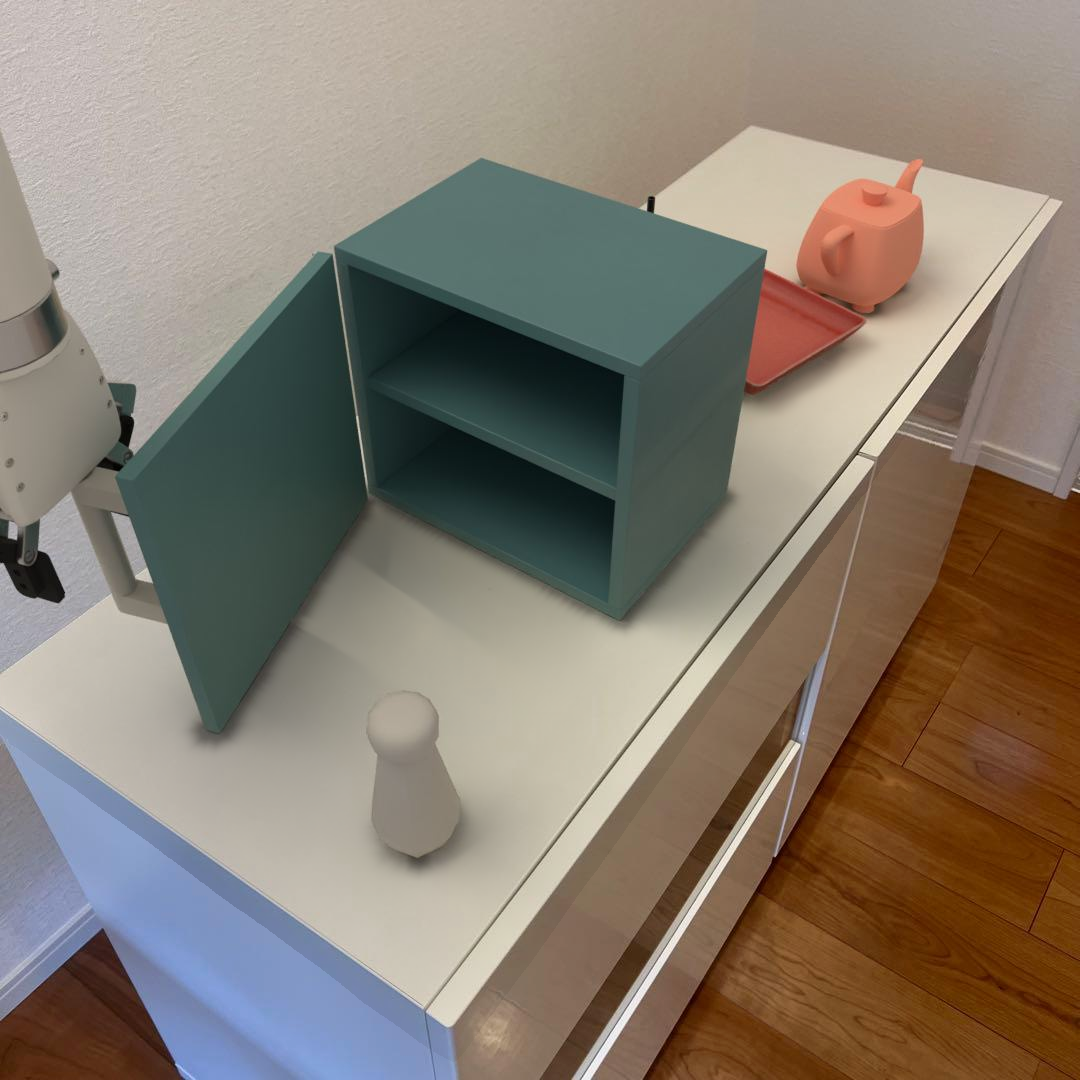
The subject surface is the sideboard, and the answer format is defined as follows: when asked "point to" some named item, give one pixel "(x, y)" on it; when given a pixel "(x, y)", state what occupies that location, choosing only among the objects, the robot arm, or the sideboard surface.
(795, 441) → the sideboard surface
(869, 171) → the sideboard surface
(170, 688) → the sideboard surface
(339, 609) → the sideboard surface
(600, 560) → the box
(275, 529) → the fridge door
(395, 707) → the salt shaker
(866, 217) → the teapot
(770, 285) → the plant saucer
